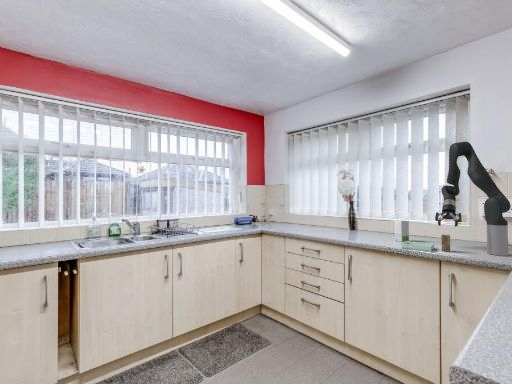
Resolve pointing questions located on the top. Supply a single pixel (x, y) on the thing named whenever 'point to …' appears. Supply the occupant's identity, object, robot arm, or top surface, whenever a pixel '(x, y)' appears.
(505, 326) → the top surface
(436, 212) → the robot arm
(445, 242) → the block
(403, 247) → the pale green tray
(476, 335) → the top surface
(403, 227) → the skincare box
